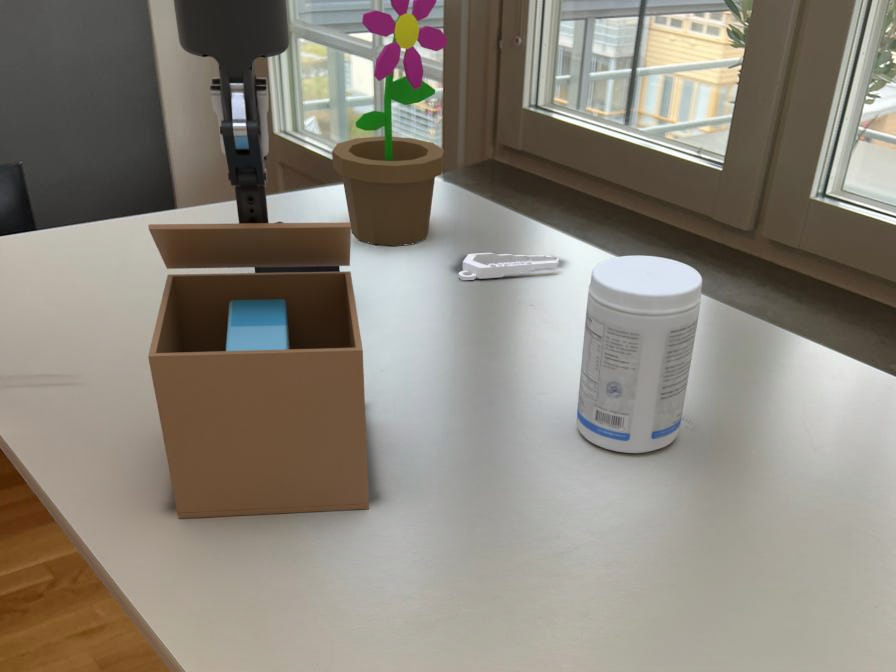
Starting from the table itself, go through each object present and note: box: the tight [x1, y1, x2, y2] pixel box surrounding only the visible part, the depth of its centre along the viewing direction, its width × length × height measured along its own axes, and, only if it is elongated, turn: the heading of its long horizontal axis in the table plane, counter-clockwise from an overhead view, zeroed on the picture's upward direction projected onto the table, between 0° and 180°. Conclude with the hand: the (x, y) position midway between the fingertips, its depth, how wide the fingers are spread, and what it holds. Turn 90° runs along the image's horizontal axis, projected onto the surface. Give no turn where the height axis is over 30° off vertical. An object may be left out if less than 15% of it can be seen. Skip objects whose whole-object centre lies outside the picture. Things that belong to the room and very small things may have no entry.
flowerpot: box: [331, 0, 448, 246], centre depth 123 cm, size 14×14×30 cm
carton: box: [147, 271, 370, 519], centre depth 81 cm, size 15×16×14 cm
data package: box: [226, 299, 290, 351], centre depth 81 cm, size 12×4×12 cm, turn 9°
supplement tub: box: [576, 255, 703, 454], centre depth 87 cm, size 10×10×15 cm
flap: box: [148, 221, 352, 270], centre depth 78 cm, size 15×8×1 cm
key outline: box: [458, 252, 560, 281], centre depth 123 cm, size 13×5×2 cm, turn 107°
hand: (255, 235), depth 78 cm, fingers closed
